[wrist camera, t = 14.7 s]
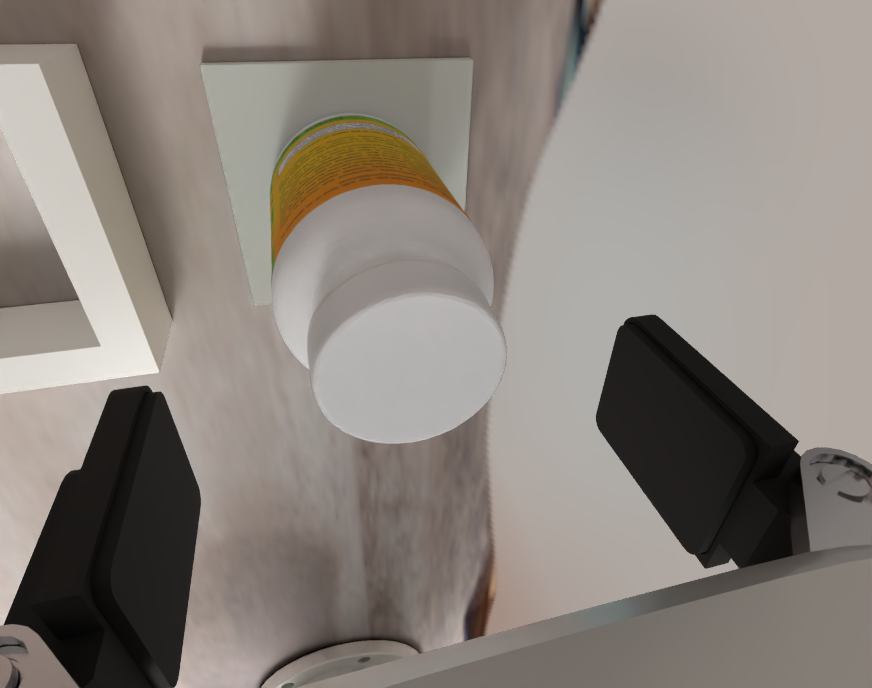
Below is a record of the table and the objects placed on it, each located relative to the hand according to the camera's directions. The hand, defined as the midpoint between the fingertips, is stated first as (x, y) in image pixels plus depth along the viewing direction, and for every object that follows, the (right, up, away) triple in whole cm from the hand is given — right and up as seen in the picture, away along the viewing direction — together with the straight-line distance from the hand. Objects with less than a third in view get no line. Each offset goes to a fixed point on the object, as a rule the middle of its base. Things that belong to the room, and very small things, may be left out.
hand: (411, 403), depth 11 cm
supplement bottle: (-2, +6, +7) cm, 10 cm away
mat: (-2, +7, +7) cm, 10 cm away
